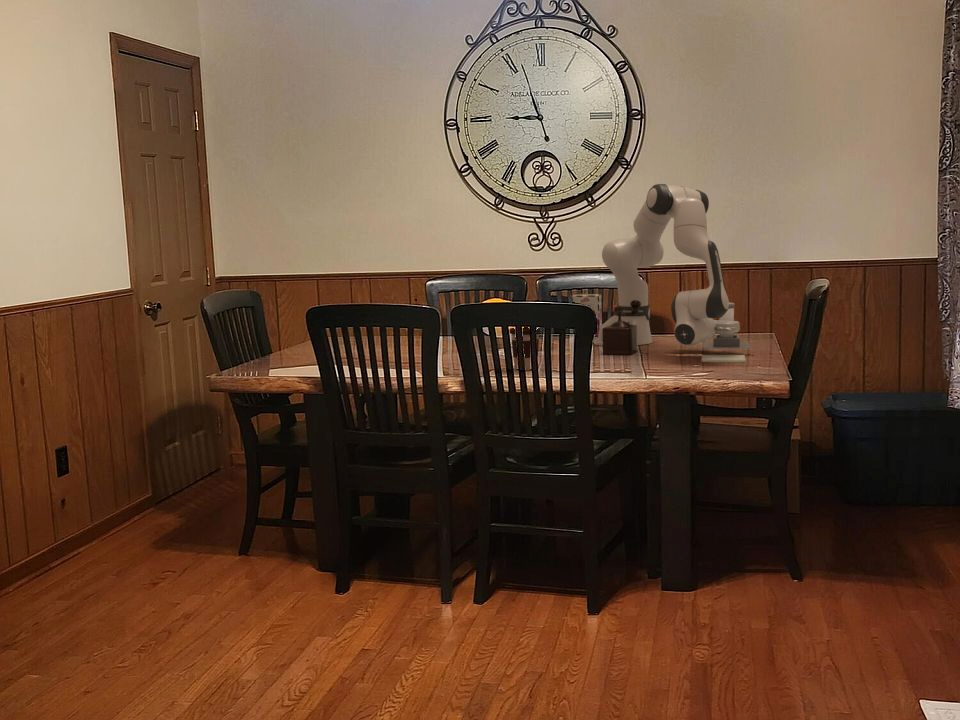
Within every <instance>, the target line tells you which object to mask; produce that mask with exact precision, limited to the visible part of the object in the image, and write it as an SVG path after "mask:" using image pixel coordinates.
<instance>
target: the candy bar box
mask: <svg viewBox="0 0 960 720" xmlns="http://www.w3.org/2000/svg"><path fill="white" fill-rule="evenodd" d="M572 302H575V303H581V304H585V305H589V306H591V307H592V308H593V310H594V311H595V314H596V318H597V333H596V336H595V337H598V333H599V329H600V327H601V325H603V318H602V317H603V316H602V315H603V313H602V308H603V307H602V294H601V293H600V294H597V293H596V294H593V293H592V294H589V293H588V294H573V295H572V296H571V303H572Z"/></svg>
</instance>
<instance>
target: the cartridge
mask: <svg viewBox="0 0 960 720" xmlns="http://www.w3.org/2000/svg"><path fill="white" fill-rule="evenodd" d="M734 316H735V302H729V309H728V311H727V312H726V313H725V314H724V315H723V316H722V317H721V318H718V319H719V320H723V321H735V317H734ZM718 335H719V338H734V335H735V333H731V334H723V333H718Z"/></svg>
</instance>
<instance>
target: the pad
mask: <svg viewBox="0 0 960 720" xmlns="http://www.w3.org/2000/svg"><path fill="white" fill-rule="evenodd" d="M701 363H746V355H745V353H702V355H701Z"/></svg>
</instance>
